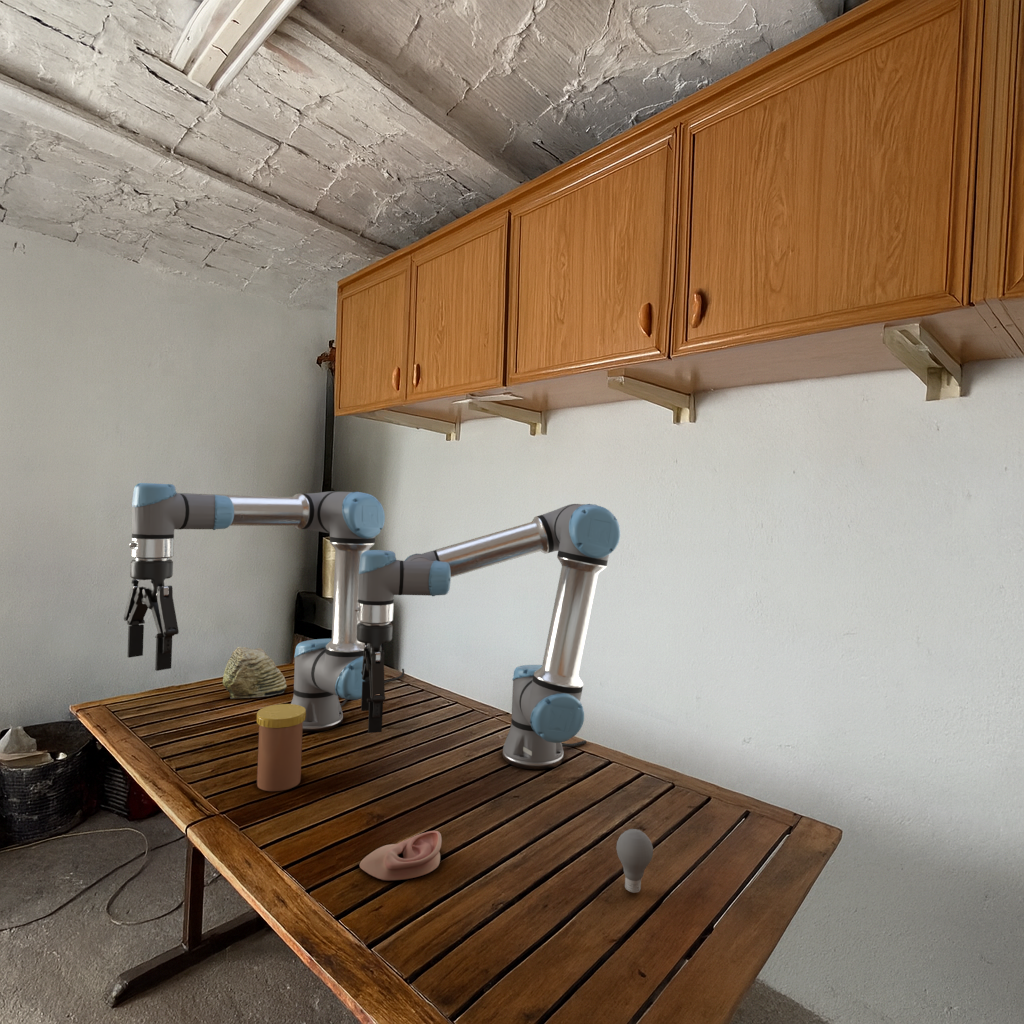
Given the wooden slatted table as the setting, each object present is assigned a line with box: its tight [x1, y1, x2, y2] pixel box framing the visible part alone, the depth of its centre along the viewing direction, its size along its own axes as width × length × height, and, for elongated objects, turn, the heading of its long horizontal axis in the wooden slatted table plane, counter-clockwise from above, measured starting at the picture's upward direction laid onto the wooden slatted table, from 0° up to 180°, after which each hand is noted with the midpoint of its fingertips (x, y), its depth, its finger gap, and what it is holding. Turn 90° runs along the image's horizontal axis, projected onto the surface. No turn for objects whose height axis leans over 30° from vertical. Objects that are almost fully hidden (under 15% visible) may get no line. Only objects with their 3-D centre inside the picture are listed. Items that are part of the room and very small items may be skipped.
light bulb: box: [615, 828, 654, 894], centre depth 106 cm, size 6×6×10 cm
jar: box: [256, 722, 304, 792], centre depth 140 cm, size 9×9×15 cm
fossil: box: [222, 646, 288, 699], centre depth 198 cm, size 9×18×15 cm, turn 132°
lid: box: [255, 703, 306, 728], centre depth 140 cm, size 10×10×2 cm
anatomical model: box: [359, 830, 443, 882], centre depth 111 cm, size 13×4×12 cm
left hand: (148, 662), depth 129 cm, fingers open, 13 cm apart
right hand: (370, 720), depth 136 cm, fingers open, 13 cm apart
